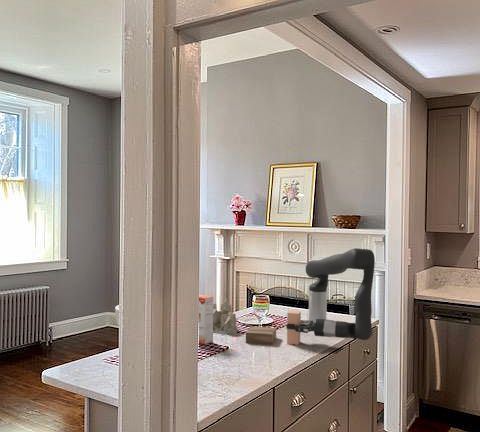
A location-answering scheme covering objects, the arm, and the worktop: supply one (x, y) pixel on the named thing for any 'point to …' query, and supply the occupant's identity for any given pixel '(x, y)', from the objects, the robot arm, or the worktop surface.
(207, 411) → the worktop surface
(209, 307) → the cracker box
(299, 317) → the terracotta block
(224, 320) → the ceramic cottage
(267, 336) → the walnut base
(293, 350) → the worktop surface
